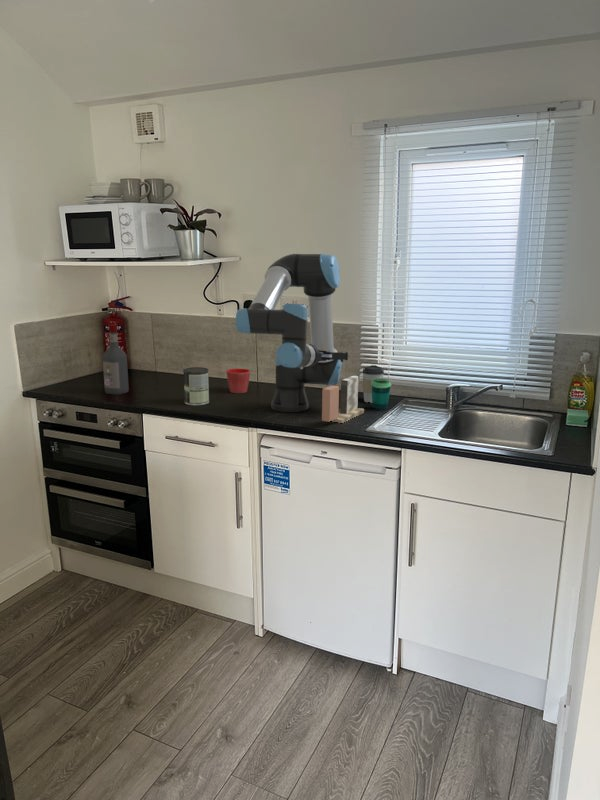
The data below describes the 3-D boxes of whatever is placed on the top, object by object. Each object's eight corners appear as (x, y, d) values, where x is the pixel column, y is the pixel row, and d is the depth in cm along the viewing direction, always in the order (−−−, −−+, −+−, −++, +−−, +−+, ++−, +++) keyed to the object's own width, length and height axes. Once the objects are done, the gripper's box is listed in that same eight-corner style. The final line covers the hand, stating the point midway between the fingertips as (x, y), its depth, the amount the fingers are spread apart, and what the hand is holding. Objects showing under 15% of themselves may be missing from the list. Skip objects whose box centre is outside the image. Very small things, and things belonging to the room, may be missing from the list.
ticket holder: (342, 423, 230) (343, 385, 226) (323, 420, 233) (324, 383, 230) (363, 412, 245) (365, 377, 242) (345, 409, 249) (347, 374, 246)
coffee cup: (381, 404, 259) (383, 369, 255) (360, 402, 261) (361, 368, 257) (383, 399, 267) (384, 365, 264) (362, 397, 269) (363, 364, 266)
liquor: (117, 395, 269) (112, 326, 261) (101, 392, 273) (97, 325, 266) (131, 391, 276) (128, 324, 269) (116, 388, 281) (112, 323, 273)
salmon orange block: (329, 421, 225) (330, 390, 222) (321, 420, 227) (322, 388, 224) (338, 417, 231) (339, 386, 228) (330, 416, 233) (331, 385, 230)
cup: (390, 406, 255) (392, 378, 252) (389, 411, 247) (390, 382, 244) (371, 405, 257) (372, 377, 254) (369, 410, 249) (370, 381, 246)
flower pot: (247, 388, 285) (246, 367, 283) (252, 393, 275) (252, 372, 273) (224, 389, 282) (224, 368, 280) (229, 395, 272) (229, 373, 269)
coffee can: (179, 403, 256) (178, 370, 253) (194, 398, 265) (193, 366, 262) (199, 406, 252) (198, 372, 248) (214, 401, 261) (213, 368, 257)
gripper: (269, 365, 203) (294, 364, 223) (341, 368, 194) (360, 367, 214) (270, 342, 203) (294, 344, 222) (342, 344, 193) (361, 345, 213)
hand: (327, 355), depth 218 cm, fingers open, 13 cm apart
